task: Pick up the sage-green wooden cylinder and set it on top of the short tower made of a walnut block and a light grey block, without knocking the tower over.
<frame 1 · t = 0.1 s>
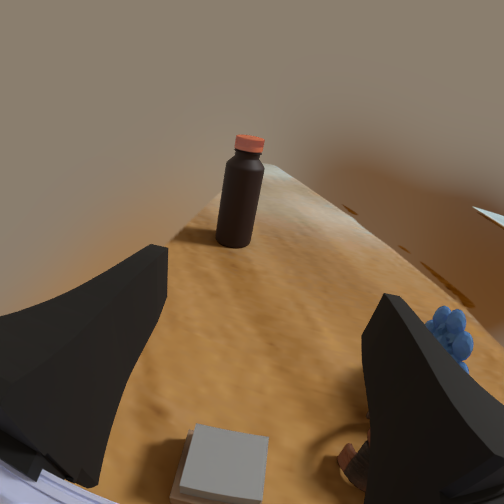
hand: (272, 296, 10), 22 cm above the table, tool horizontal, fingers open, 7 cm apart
blue flower: (411, 391, 34), on the table
bottle: (232, 241, 62), on the table
pottery mug: (382, 466, 25), on the table
tower top: (224, 470, 21), point 2 cm above the table, touching tower base
tower base: (219, 480, 22), on the table, touching tower top
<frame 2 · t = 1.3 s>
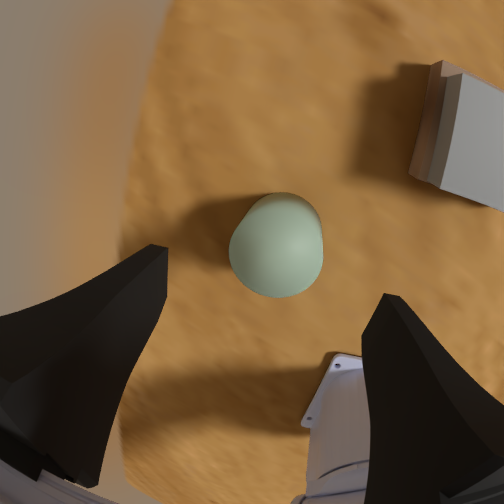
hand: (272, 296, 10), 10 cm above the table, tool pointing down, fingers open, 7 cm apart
green cylinder: (282, 230, 20), on the table
tower top: (482, 145, 13), point 2 cm above the table, touching tower base
tower base: (465, 137, 15), on the table, touching tower top
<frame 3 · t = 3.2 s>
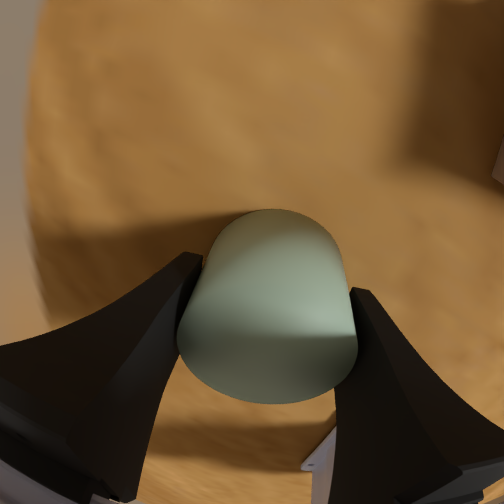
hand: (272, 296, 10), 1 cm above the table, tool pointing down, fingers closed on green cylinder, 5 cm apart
green cylinder: (275, 271, 11), on the table, touching gripper
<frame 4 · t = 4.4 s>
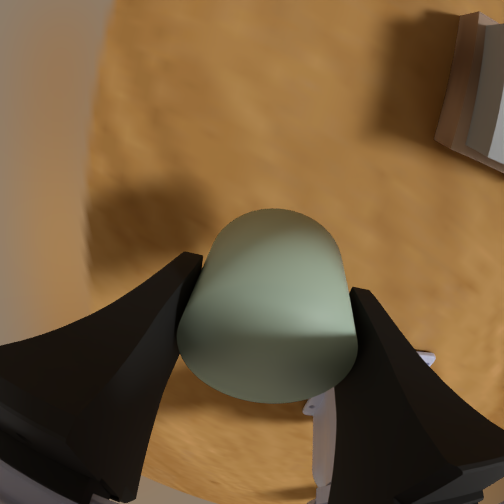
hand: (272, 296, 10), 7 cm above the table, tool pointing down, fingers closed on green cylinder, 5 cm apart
green cylinder: (275, 270, 11), point 5 cm above the table, touching gripper
tower base: (495, 101, 12), on the table, touching tower top
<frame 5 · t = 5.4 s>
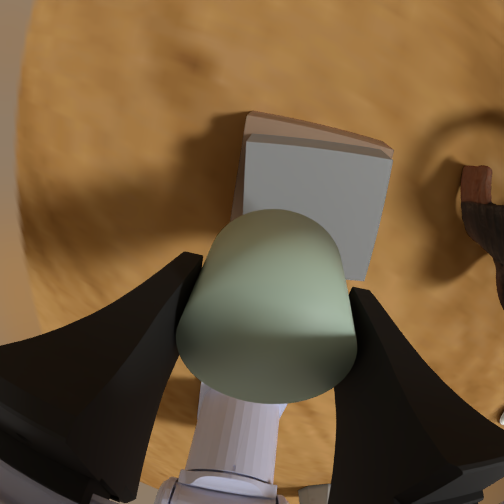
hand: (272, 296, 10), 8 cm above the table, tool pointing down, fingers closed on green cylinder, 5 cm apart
green cylinder: (274, 270, 11), point 7 cm above the table, touching gripper
coffee maker: (326, 487, 42), on the table
tower top: (310, 200, 15), point 2 cm above the table, touching tower base
tower base: (304, 183, 17), on the table, touching tower top
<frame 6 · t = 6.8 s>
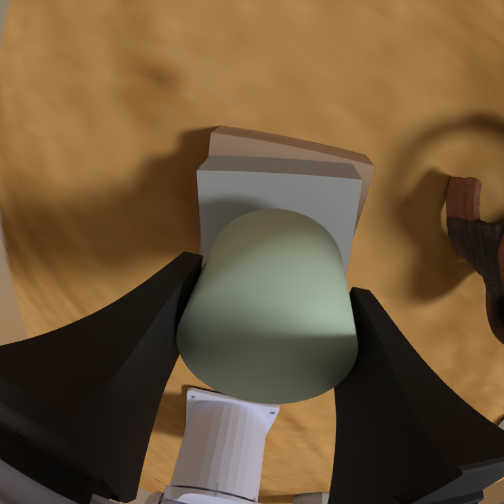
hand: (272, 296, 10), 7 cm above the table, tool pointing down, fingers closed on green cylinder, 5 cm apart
green cylinder: (275, 270, 11), point 5 cm above the table, touching gripper
coffee maker: (321, 495, 41), on the table
tower top: (278, 223, 14), point 2 cm above the table, touching tower base
tower base: (281, 201, 16), on the table, touching tower top
when the fingers open (7 cm above the table, at t = 6.8 s): green cylinder drops 2 cm, point 4 cm above the table.
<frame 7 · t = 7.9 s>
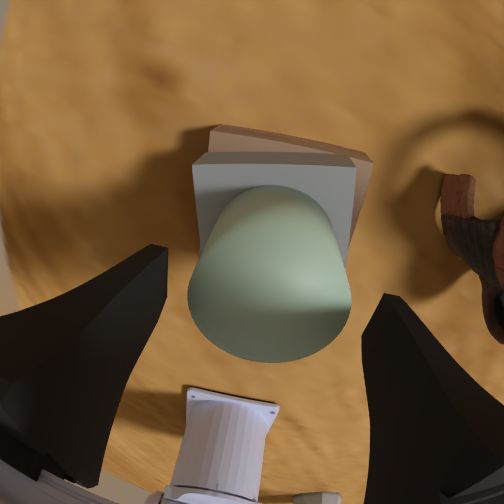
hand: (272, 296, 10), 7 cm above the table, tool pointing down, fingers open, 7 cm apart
green cylinder: (273, 243, 13), point 4 cm above the table
pottery mug: (500, 211, 15), on the table
coffee maker: (321, 495, 42), on the table
tower top: (276, 217, 14), point 2 cm above the table, touching tower base
tower base: (280, 199, 16), on the table, touching tower top
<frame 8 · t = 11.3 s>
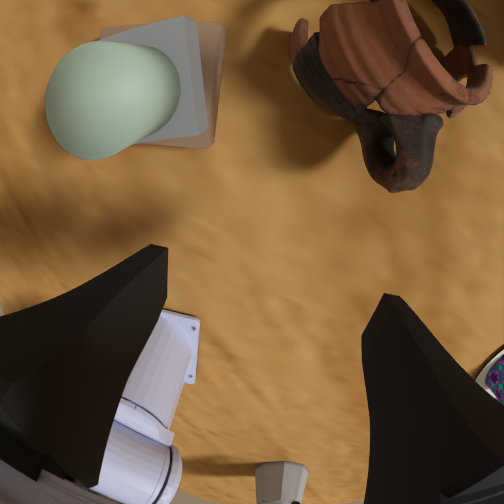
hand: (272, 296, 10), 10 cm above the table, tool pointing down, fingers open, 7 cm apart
green cylinder: (134, 91, 13), point 4 cm above the table, touching tower top
pottery mug: (376, 69, 15), on the table
coffee maker: (285, 466, 42), on the table
tower top: (149, 83, 15), point 2 cm above the table, touching green cylinder, tower base
tower base: (166, 81, 17), on the table, touching tower top
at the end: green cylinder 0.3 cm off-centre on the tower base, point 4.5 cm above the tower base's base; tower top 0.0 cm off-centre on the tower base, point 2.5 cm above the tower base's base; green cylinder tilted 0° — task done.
